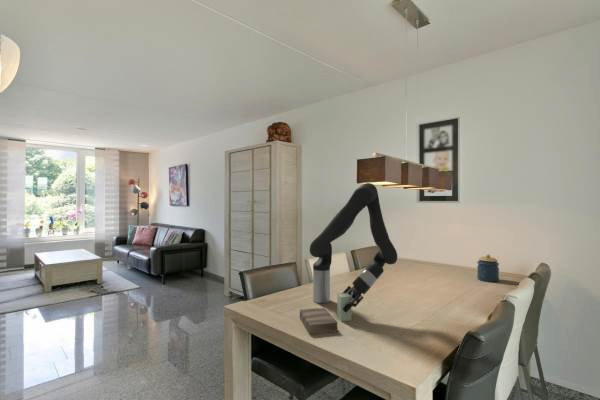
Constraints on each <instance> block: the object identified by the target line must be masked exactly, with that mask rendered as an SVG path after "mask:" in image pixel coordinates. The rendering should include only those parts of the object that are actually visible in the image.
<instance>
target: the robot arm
mask: <svg viewBox="0 0 600 400" xmlns="http://www.w3.org/2000/svg"><path fill="white" fill-rule="evenodd" d="M380 204H381V203H380V199H379V192H378V189H377V187H376V186H375V185H374V184H373V183H370V182H366V183H363V184H362V185H359V186H358V187H357V188H356V189H355V190H354V191H353V193H352V195H351V196H350V198H349V199H348V201H347V202H346V203H345V205H344V206H343V207H342V208H341V209H340V210H339V211H338V212H337V213H336V214H335V216H334V217H333V218H332V220H330V222H329V223H328V225H327V226H326V227H325V228H324V229H323V230H322V232H320V234H319V235H318V236H317V237H316V238H315V239H314V240H313V241H311V243H310V245H309V254H310V255H311V257H314V258H318V259H317V260H316V261H314V263H313V266H312V269H313V270H312V301H313V302H314V303H316V304H328V303H329V302H330V301H331V265H332V261H333V260H332V256H333V246H332V244H331V243H332V242H333V241H335V240H337V239H339V238H340V237H342V236H343V235H345V233H346V232H347V231H348V230H349V229H350V228H351V227H352V226H353V224H354V222H355V220H356V217H357V215H358V214H360V212H361V211H362V210H364V209H365V208H366V207H367V210H368V215H369V216H368V217H369V226H370V232H371V235H372V238H373V241H374V244H375V245H376V246H377V247H378V248H379V250H377V252H376V253H375V254H374V255H373V258H372V260H371V262H370V264H369V265H367V267H366V268H365V269H364V270H362V272H360V273H359V275H358V276H357V277H356V278H355V279H354V280H353V282H352V285H353V286H352V287H351V286H350V285H349V286H347V287H346V288H345V289H344V291H343V292H342V293H348V294H349V295H351V296H350V298H349V299H350V300H349V302H348V303H349V304H348V303H347V304H346V306H345V307H344V308H343V310H344V311H345V312H347V311H348V310H349V309H350V308H351V309H352V308H353V307H354V308H356V307H357V306H358V305H359V303H361V301H363V299H364V296H363V295H366V294H367V292H368V291H369V290H370V289H371V288H372V287H373V285H375V283H376V282H377V280H378V279H379V278H380V277H381V275H382V274H383V272H384V268H383V267H384V266H385V264H386V265H394V264H396V263H397V261H398V252H397V250H396V248H395V246H394V244H393V242H392V241H391V240H390V235H389V234H388V231H387V227H386V225H385V221H384V218H383V213H382V210H381V209H382V208H381V205H380ZM362 294H363V295H362Z"/></svg>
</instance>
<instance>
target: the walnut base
mask: <svg viewBox="0 0 600 400" xmlns="http://www.w3.org/2000/svg"><path fill="white" fill-rule="evenodd" d="M299 320H300V321H301V323H302V325H303V326H304V328H305V329H306V331H307V333H308V335H318V334H330V333H337V332H338V321H337V320H336V319H335V318H334V317H333V315H331V312H329V311H328V310H327V309H326V308H325V307H317V308H316V307H315V308H303V309H301V308H300V309H299Z"/></svg>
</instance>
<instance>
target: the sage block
mask: <svg viewBox="0 0 600 400" xmlns="http://www.w3.org/2000/svg"><path fill="white" fill-rule="evenodd" d="M350 296H351V295H349V294H348V293H343V292H342V293H337V296H336V297H337V301H336V302H337V303H336V305H337V308H336V309H337V310H336V311H337V312H336V314H337V316H336V317H337V319H338V320H339V321H340V322H347V321H348V322H349V321H352V307H351V308H350V309H349V310H348V311H347V312H345V311H344V310H343V308H344V307H345V306H346V304H347V303H348V302H349V300H350V299H349V298H350ZM348 304H349V303H348Z"/></svg>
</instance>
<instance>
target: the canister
mask: <svg viewBox="0 0 600 400" xmlns="http://www.w3.org/2000/svg"><path fill="white" fill-rule="evenodd" d="M476 263H477V267H476V268H477V275H476V277H477V280H479V281H480V282H481V281H482V282H488V283H499V281H500V268H499V265H500V263H499V262H498V259H496V258H495V257H493V256H492V257H491V255H490V254H486V255H485V256H481V257H479V258H478V261H477V262H476Z"/></svg>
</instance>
